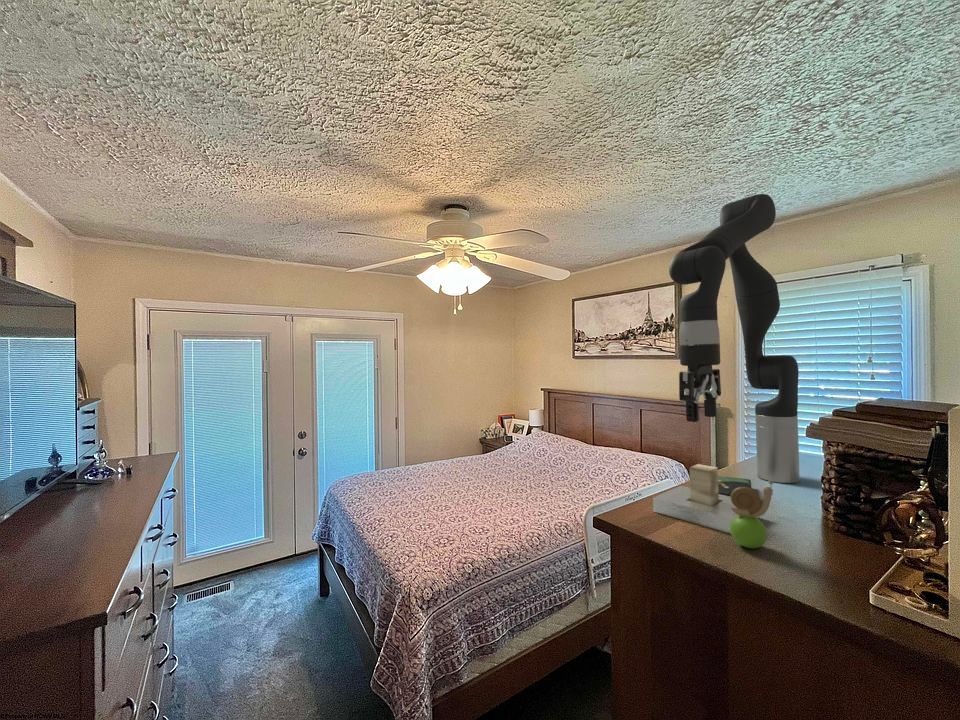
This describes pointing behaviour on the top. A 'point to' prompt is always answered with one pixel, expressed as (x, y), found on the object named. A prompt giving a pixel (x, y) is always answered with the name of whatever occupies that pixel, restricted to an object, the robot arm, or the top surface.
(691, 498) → the birch peg
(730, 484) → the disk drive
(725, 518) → the white flat block
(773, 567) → the top surface
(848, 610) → the top surface
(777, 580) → the top surface
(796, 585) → the top surface
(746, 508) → the snail figurine
